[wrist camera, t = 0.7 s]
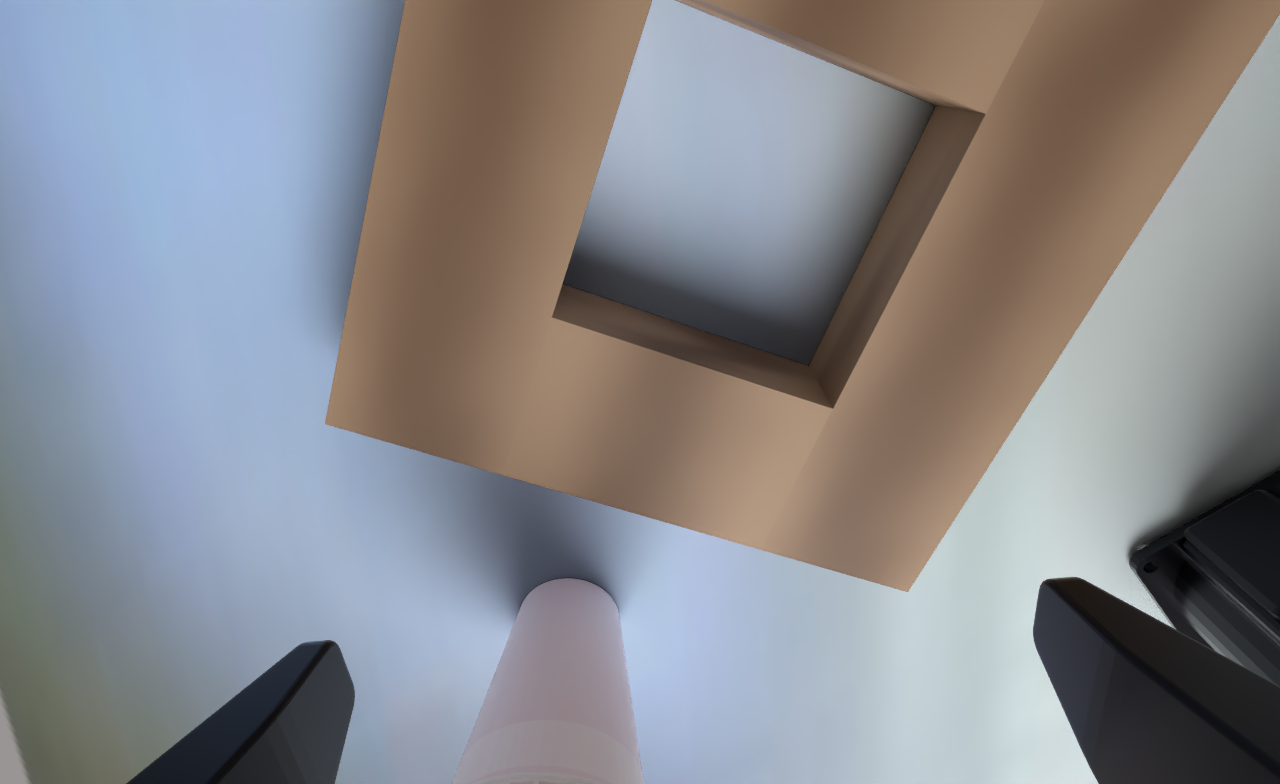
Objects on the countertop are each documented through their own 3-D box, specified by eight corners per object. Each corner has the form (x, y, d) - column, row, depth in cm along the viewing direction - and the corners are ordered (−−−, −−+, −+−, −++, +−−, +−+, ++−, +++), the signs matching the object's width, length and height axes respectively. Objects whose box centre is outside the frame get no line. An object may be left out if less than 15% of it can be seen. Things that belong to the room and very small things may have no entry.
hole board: (1212, -26, 18) (1314, -41, 15) (878, 534, 25) (907, 592, 22) (513, -350, 15) (487, -438, 13) (362, 379, 22) (325, 423, 20)
